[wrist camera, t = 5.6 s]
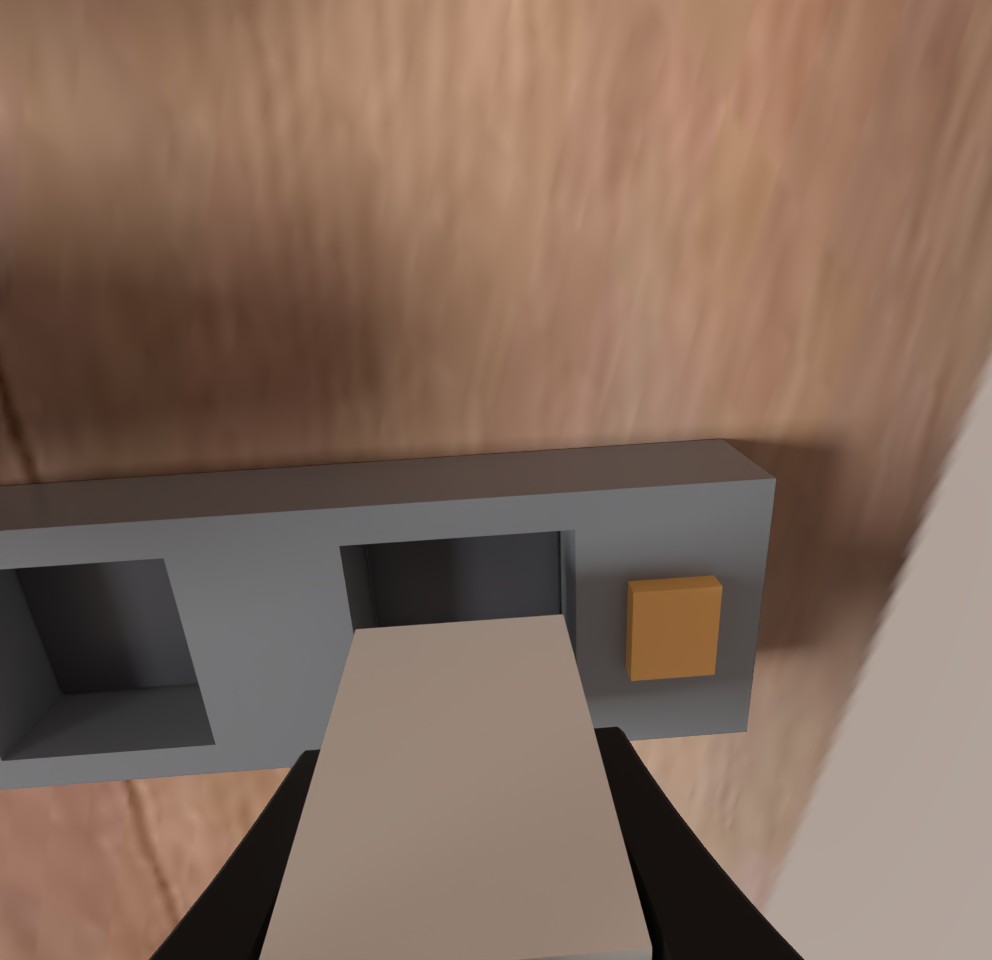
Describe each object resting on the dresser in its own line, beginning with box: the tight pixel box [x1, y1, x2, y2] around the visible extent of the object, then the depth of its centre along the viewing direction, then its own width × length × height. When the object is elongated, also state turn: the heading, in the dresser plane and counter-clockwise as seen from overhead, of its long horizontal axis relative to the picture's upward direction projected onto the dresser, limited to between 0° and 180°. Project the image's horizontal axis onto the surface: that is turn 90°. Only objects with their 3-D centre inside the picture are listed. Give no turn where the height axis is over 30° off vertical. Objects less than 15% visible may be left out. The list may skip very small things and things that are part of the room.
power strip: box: [0, 439, 776, 790], centre depth 15 cm, size 20×7×4 cm, turn 93°
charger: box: [259, 614, 652, 960], centre depth 9 cm, size 4×4×6 cm
